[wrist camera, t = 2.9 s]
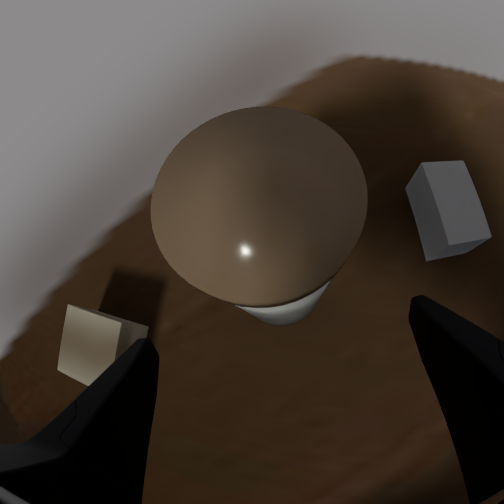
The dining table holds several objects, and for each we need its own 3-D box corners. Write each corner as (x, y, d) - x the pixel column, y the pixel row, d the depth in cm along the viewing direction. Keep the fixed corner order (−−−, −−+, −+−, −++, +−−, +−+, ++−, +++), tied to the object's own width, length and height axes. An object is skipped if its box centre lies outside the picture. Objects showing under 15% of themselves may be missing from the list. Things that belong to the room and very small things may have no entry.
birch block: (138, 388, 20) (109, 395, 16) (89, 368, 21) (57, 369, 17) (149, 326, 21) (121, 322, 17) (99, 311, 22) (68, 304, 18)
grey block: (465, 253, 19) (491, 237, 15) (425, 261, 20) (448, 245, 16) (443, 185, 21) (463, 160, 17) (404, 189, 21) (421, 162, 17)
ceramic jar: (301, 339, 19) (316, 343, 6) (229, 306, 20) (116, 245, 7) (333, 266, 20) (389, 142, 7) (262, 237, 22) (213, 91, 8)
